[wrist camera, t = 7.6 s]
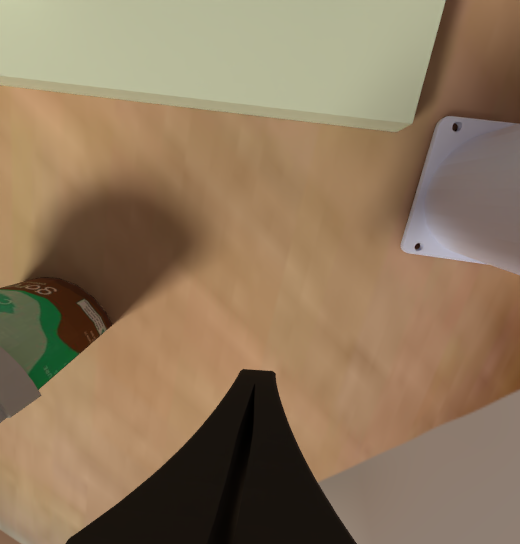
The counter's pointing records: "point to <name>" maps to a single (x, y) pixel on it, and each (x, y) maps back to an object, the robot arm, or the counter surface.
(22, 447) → the counter surface
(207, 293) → the counter surface
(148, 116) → the counter surface
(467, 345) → the counter surface
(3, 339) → the food container
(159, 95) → the board
